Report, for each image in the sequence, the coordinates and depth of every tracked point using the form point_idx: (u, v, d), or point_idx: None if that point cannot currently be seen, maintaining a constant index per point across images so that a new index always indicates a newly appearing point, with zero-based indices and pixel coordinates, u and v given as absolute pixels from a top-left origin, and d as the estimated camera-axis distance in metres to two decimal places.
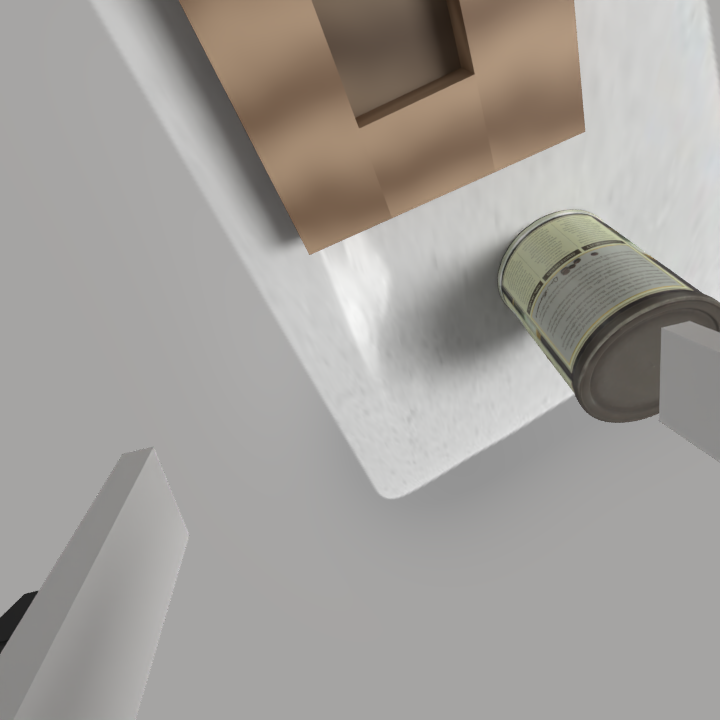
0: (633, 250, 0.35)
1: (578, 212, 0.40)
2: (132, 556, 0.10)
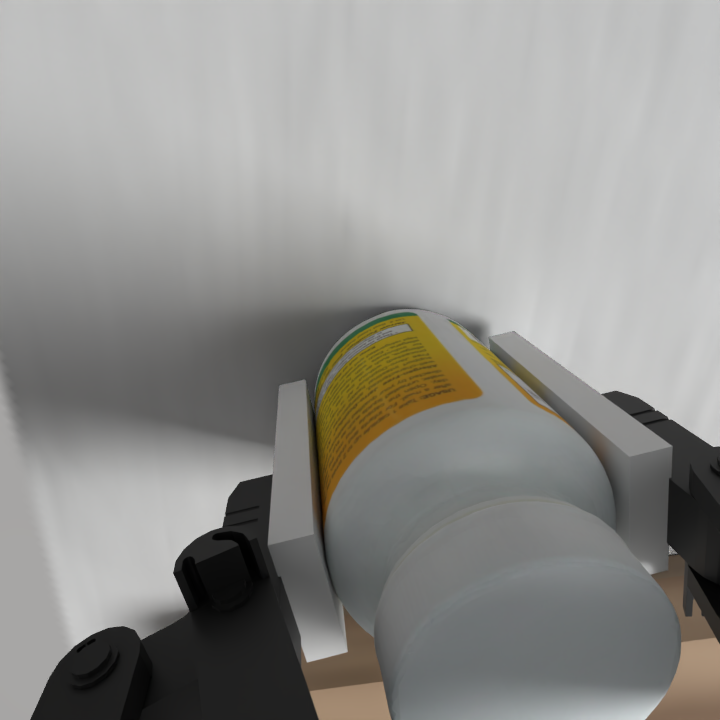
0: None
1: None
2: (316, 457, 0.12)
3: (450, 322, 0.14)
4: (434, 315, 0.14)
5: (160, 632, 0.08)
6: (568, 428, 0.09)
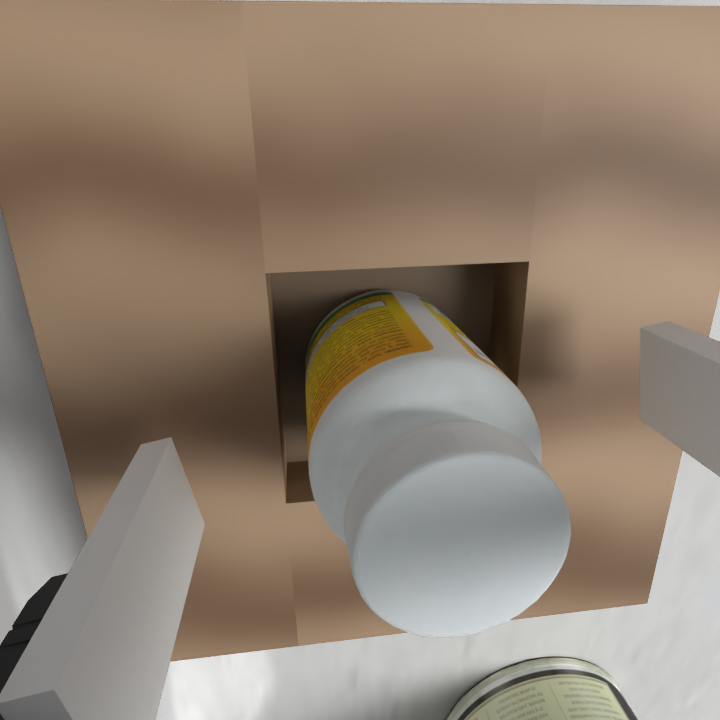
0: None
1: (588, 669, 0.26)
2: (154, 541, 0.10)
3: (420, 300, 0.16)
4: (407, 294, 0.16)
5: None
6: (500, 374, 0.11)
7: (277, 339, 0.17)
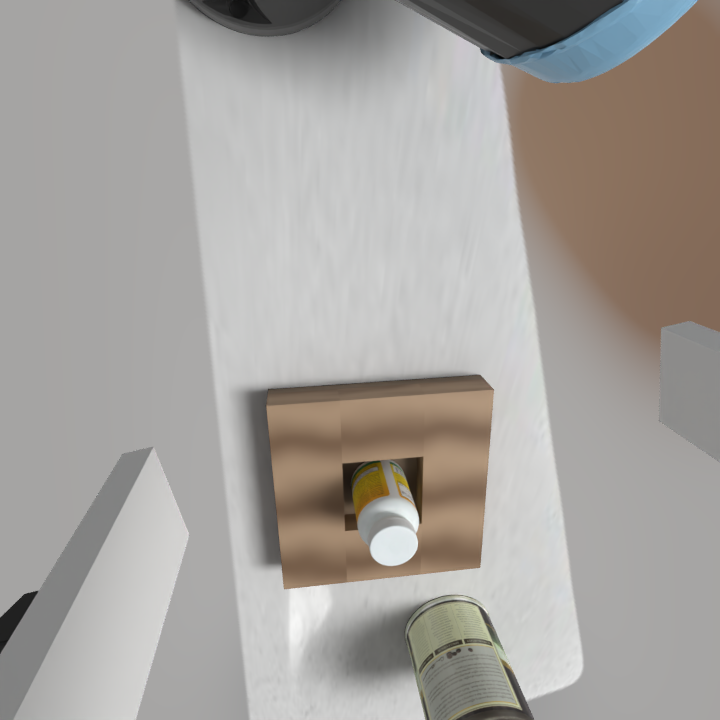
0: (495, 655, 0.51)
1: (470, 600, 0.57)
2: (132, 556, 0.10)
3: (390, 464, 0.48)
4: (385, 461, 0.48)
5: None
6: (406, 501, 0.43)
7: None
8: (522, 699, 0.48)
